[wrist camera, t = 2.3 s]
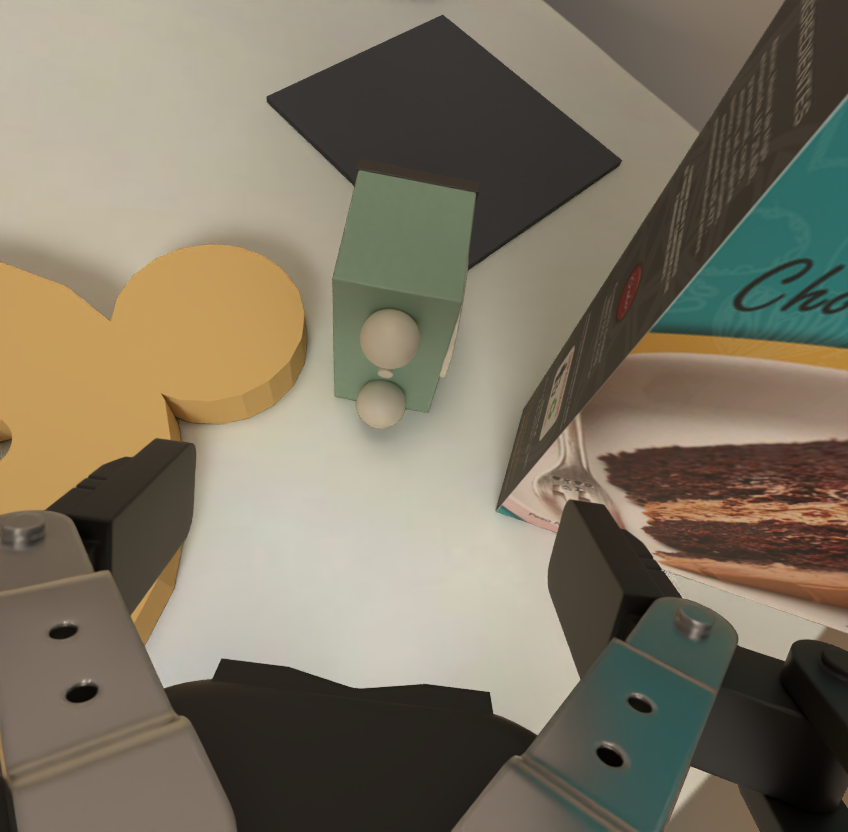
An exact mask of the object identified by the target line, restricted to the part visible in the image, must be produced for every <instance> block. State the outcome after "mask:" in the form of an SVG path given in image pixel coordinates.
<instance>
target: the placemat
mask: <svg viewBox="0 0 848 832" xmlns="http://www.w3.org/2000/svg"><path fill="white" fill-rule="evenodd" d="M267 102H268V103H269V104H270V105H271V106H272V107H273V108H274V109H275V110H276V111H277V112H278V113H279V114H280V115H281V116H283V117H284V118H285V119H286V120H287V121H288V122H289V123H290V124H291V125H292V126H293V127H294V128H295V129H296V130H297V131H298V132H299V133H300V134H301V135H302V136H303V137H304V138H306V139H307V140H308V141H309V142H310V143H311V144H312V145H313V146H314V147H315V148H316V149H317V150H318V151H319V152H320V153H321V154H322V155H323V156H324V157H325V158H326V159H327V160H329V161H330V162H331V163H332V164H333V165H334V166H335V167H336V168H337V169H338V170H339V171H340V172H341V173H342V174H343V175H344V176H345V177H346V178H347V179H348V180H349V181H350V182H351V183H353V184H354V185H355V183H356V168H357V164H358V160H359V159H363V160H368V161H373V162H378V163H383V164H388V165H394V166H399V167H404V168H409V169H414V170H419V171H424V172H429V173H434V174H439V175H445V176H450V177H455V178H460V179H465V180H470V181H475V182H479V183H480V188H479V194H478V198H477V201H476V205H475V209H474V216H473V224H472V232H471V240H470V248H469V256H468V269H470V268H471V267H473V266H474V265H475V264H477V263H478V262H480V261H481V260H483V259H484V258H486V257H487V256H489V255H490V254H491V253H493V252H494V251H496V250H497V249H499V248H500V247H502V246H503V245H504V244H506V243H507V242H509V241H510V240H512V239H513V238H515V237H516V236H517V235H519V234H520V233H522V232H523V231H525V230H526V229H528V228H529V227H530V226H532V225H533V224H535V223H536V222H538V221H539V220H541V219H542V218H543V217H545V216H546V215H548V214H549V213H551V212H552V211H554V210H555V209H556V208H558V207H559V206H561V205H562V204H564V203H565V202H567V201H568V200H569V199H571V198H572V197H574V196H575V195H577V194H578V193H580V192H581V191H582V190H584V189H585V188H587V187H588V186H590V185H591V184H593V183H594V182H595V181H597V180H598V179H600V178H601V177H603V176H604V175H606V174H607V173H608V172H610V171H611V170H613V169H614V168H616V167H617V166H619V165H620V163H621V161H622V160H621V159H620V158H618V157H617V156H616V155H615V154H613V153H612V152H611V151H610V150H609V149H607V148H606V147H605V146H604V145H602V144H601V143H600V142H599V141H597V140H596V139H595V138H594V137H593V136H591V135H590V134H589V133H588V132H586V131H585V130H584V129H583V128H582V127H580V126H579V125H578V124H577V123H575V122H574V121H573V120H572V119H570V118H569V117H568V116H567V115H566V114H564V113H563V112H562V111H561V110H559V109H558V108H557V107H556V106H554V105H553V104H552V103H551V102H550V101H548V100H547V99H546V98H545V97H543V96H542V95H541V94H540V93H538V92H537V91H536V90H535V89H534V88H532V87H531V86H530V85H529V84H527V83H526V82H525V81H524V80H522V79H521V78H520V77H519V76H518V75H516V74H515V73H514V72H513V71H511V70H510V69H509V68H508V67H506V66H505V65H504V64H503V63H502V62H500V61H499V60H498V59H497V58H495V57H494V56H493V55H492V54H490V53H489V52H488V51H487V50H486V49H484V48H483V47H482V46H481V45H479V44H478V43H477V42H476V41H474V40H473V39H472V38H471V37H470V36H468V35H467V34H466V33H465V32H463V31H462V30H461V29H460V28H458V27H457V26H456V25H455V24H454V23H452V22H451V21H450V20H449V19H447V18H446V17H445V16H444V15H441V16H439V17H437V18H435V19H432V20H430V21H428V22H426V23H424V24H422V25H420V26H417V27H415V28H413V29H411V30H409V31H407V32H405V33H402V34H400V35H398V36H396V37H394V38H392V39H389V40H387V41H385V42H383V43H381V44H379V45H377V46H374V47H372V48H370V49H368V50H366V51H364V52H362V53H359V54H357V55H355V56H353V57H351V58H349V59H346V60H344V61H342V62H340V63H338V64H336V65H334V66H331V67H329V68H327V69H325V70H323V71H321V72H319V73H316V74H314V75H312V76H310V77H308V78H306V79H303V80H301V81H299V82H297V83H295V84H293V85H291V86H288V87H286V88H284V89H282V90H280V91H278V92H276V93H273V94H271V95H269V96H267Z"/></svg>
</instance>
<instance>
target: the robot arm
mask: <svg viewBox="0 0 848 832" xmlns="http://www.w3.org/2000/svg"><path fill="white" fill-rule="evenodd" d="M195 467H196V449H195V446H194V444H193V443H188V442H181V441H174V440H167V439H161V438H155V439H154V440H153V441H151V442H150V443H149V444H148V445H147V446H146V447H144V448H143V449H142V450H141V451H140V452H138V453H137V454H136V455H135V456H134V457H127V456H125V457H122V458H119V459H117V460H114V461H111V462H108V463H106V464H103V465H102V466H100V467H99V468H98V469H96V470H95V471H94V472H93V473H91V474H90V475H89V476H88V478H85V479H84V480H82V481H81V482H80V483H79V484H77V485H76V488H72V489H71V490H70V491H68V492H67V493H66V494H65V495H63V496H62V497H61V498H59V499H58V500H57V501H56V502H54V503H53V504H52V505H50V506H49V507H48V508H47V509H45V510H25V511H17V512H11V513H6V514H2V515H0V832H665V830H666V827H667V825H668V822H669V820H670V817H671V815H672V812H673V809H674V807H675V804H676V802H677V799H678V797H679V794H680V792H681V789H682V787H683V784H684V781H685V779H686V776H687V774H688V771H689V769H690V766H691V767H694V768H697V769H699V770H702V771H705V772H707V773H710V774H712V775H715V776H718V777H720V778H723V779H725V780H728V781H731V782H733V783H736V784H738V788H739V790H740V793H741V795H742V797H743V799H744V801H745V803H746V805H747V807H748V809H749V810H750V813H751V815H752V817H753V819H754V821H755V823H756V825H757V827H758V828H759V831H760V832H848V808H847V807H846V805H845V804H844V802H843V801H842V797H843V795H844V793H845V791H846V789H847V787H848V651H845V650H843V649H841V648H839V647H836V646H834V645H831V644H828V643H824V642H820V641H816V640H798V641H796V642H794V643H793V644H792V646H791V649H790V651H789V654H788V656H787V658H786V661H782V660H779V659H776V658H773V657H770V656H767V655H764V654H761V653H758V652H755V651H751V650H748V649H746V648H743V647H740V646H738V645H737V644H738V634H737V632H736V630H735V629H734V628H733V626H732V625H731V624H730V623H729V622H728V621H727V620H726V619H725V618H723V617H722V616H721V615H719V614H718V613H716V612H715V611H713V610H711V609H709V608H707V607H705V606H703V605H701V604H699V603H696V602H693V601H690V600H687V599H683V598H682V597H681V595H680V594H679V593H678V591H677V590H676V588H675V587H674V586H673V584H672V583H671V581H670V580H669V578H668V577H667V576H666V574H665V573H664V571H661V567H660V566H659V564H658V563H657V561H656V560H654V559H653V556H652V554H651V553H650V551H649V550H648V549H647V547H646V546H645V544H644V543H643V542H642V541H640V540H639V539H638V538H636V537H635V536H634V535H632V534H631V533H630V532H628V531H627V530H626V529H620V527H619V526H618V524H617V523H616V521H615V520H614V518H613V517H612V515H611V514H610V512H609V511H608V509H607V508H606V506H605V505H604V504H599V503H592V502H585V501H579V500H572V499H570V500H568V501H567V502H566V504H565V506H564V509H563V512H562V516H561V520H560V524H559V528H558V531H557V535H556V539H555V543H554V547H553V551H552V555H551V559H550V563H549V568H548V588H549V593H550V595H551V598H552V601H553V604H554V607H555V609H556V612H557V615H558V618H559V621H560V623H561V626H562V629H563V632H564V634H565V637H566V640H567V643H568V646H569V648H570V651H571V654H572V657H573V660H574V662H575V665H576V668H577V671H578V674H579V676H580V679H581V680H580V681H579V683H578V684H577V685H576V687H575V688H574V689H573V690H572V692H571V693H570V694H569V696H568V697H567V698H566V700H565V701H564V702H563V704H562V705H561V706H560V707H559V709H558V710H557V711H556V713H555V714H554V715H553V717H552V718H551V719H550V720H549V722H548V723H547V724H546V726H545V727H544V728H543V730H542V731H541V732H540V733H539V735H538V736H537V735H536V734H534V733H533V732H531V731H530V730H528V729H526V728H524V727H522V726H521V725H519V724H517V723H515V722H513V721H510V720H508V719H506V718H503V717H501V716H498V715H495V714H493V709H492V703H491V696H490V692H485V691H477V690H469V689H461V688H453V687H445V686H437V685H429V684H419V685H406V686H392V687H378V688H364V689H358V688H352V687H348V686H345V685H342V684H339V683H336V682H333V681H330V680H327V679H324V678H321V677H318V676H315V675H312V674H309V673H306V672H303V671H300V670H296V669H293V668H290V667H285V666H277V665H269V664H261V663H253V662H245V661H237V660H229V659H221V661H220V663H219V665H218V668H217V670H216V672H215V674H214V677H213V679H207V680H199V681H193V682H187V683H182V684H178V685H174V686H170V687H167V688H163V686H162V684H161V682H160V679H159V677H158V675H157V673H156V671H155V668H154V666H153V664H152V662H151V660H150V657H149V655H148V653H147V651H146V649H145V646H144V644H143V642H142V640H141V638H140V635H139V633H138V631H137V629H136V627H135V624H134V622H133V620H132V618H131V615H132V613H133V612H134V610H135V609H136V608H137V606H138V605H139V603H140V602H141V601H142V599H143V598H144V597H145V595H146V594H147V592H148V591H149V590H150V588H151V587H152V585H153V584H154V583H155V581H156V580H157V578H158V577H159V576H160V574H161V573H162V571H163V570H164V569H165V567H166V566H167V565H168V563H169V562H170V560H171V559H172V558H173V556H174V555H175V553H176V552H177V551H178V549H179V548H180V546H181V545H182V544H183V542H184V541H185V539H186V537H187V535H188V532H189V529H190V526H191V522H192V516H193V504H194V486H195Z"/></svg>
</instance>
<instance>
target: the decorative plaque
mask: <svg viewBox="0 0 848 832" xmlns="http://www.w3.org/2000/svg"><path fill="white" fill-rule="evenodd" d="M306 347H307V334H306V323H305V313H304V309H303V306H302V302H301V298H300V294H299V291H298V289H297V288H296V286H295V285H294V284H293V282H292V281H291V279H290V278H289V277H288V275H287V274H286V272H285V271H284V270H283V269H281V268H280V267H278V266H277V265H276V264H274V263H273V262H272V261H270V260H269V259H267V258H266V257H265V256H263V255H260V254H257V253H255V252H252V251H249V250H246V249H244V248H241V247H237V246H227V245H216V244H206V245H199V246H193V247H186V248H181V249H178V250H176V251H173V252H171V253H168V254H166V255H164V256H161V257H159V258H156V259H154V260H153V261H152V262H150V263H149V264H148V265H146V266H145V267H144V268H143V269H141V270H140V271H139V272H137V273H136V274H135V275H133V276H132V278H131V279H130V280H129V282H128V283H127V285H126V286H125V287H124V289H123V290H122V292H121V293H120V294H119V296H118V297H117V300H116V304H115V307H114V311H113V315H112V318H111V321H109V320H108V319H107V318H106V317H104V316H103V315H102V314H101V313H99V312H98V311H97V310H95V309H94V308H93V307H92V306H90V305H89V304H88V303H87V302H85V301H84V300H83V299H82V298H80V297H79V296H78V295H77V294H75V293H74V292H73V291H72V290H70V289H69V288H68V287H67V286H64V285H62V284H59V283H56V282H53V281H51V280H48V279H45V278H43V277H40V276H37V275H34V274H32V273H29V272H26V271H24V270H21V269H18V268H15V267H13V266H10V265H7V264H5V263H2V262H0V442H1V441H5V440H10V439H12V443H11V446H10V449H9V451H8V453H7V454H6V455H5V457H4V458H3V459H2V460H1V461H0V515H2V514H6V513H11V512H17V511H25V510H45V509H47V508H48V507H49V506H50V505H52V504H53V503H54V502H56V501H57V500H58V499H59V498H61V497H62V496H63V495H65V494H66V493H67V492H68V491H70V490H71V489H72V488H76V485H77V484H79V483H80V482H81V481H82V480H84V479H85V478H88V476H89V475H90V474H91V473H93V472H94V471H95V470H96V469H98V468H99V467H100V466H102V465H103V464H106V463H108V462H111V461H114V460H117V459H119V458H122V457H125V456H127V457H134V456H135V455H136V454H137V453H138V452H140V451H141V450H142V449H143V448H144V447H146V446H147V445H148V444H149V443H150V442H151V441H153V440H154V439H155V438H161V439H167V440H174V441H181V436H180V430H179V423H178V421H177V420H176V418H175V417H177V418H180V419H183V420H185V421H188V422H193V423H208V424H223V423H228V422H233V421H238V420H242V419H247V418H250V417H252V416H254V415H256V414H258V413H260V412H261V411H263V410H265V409H267V408H269V407H271V406H273V405H274V404H275V403H277V402H278V401H279V400H280V399H281V398H282V397H283V396H284V395H285V394H286V393H287V392H288V391H289V390H290V389H291V388H292V387H293V386H294V384H295V382H296V380H297V378H298V376H299V374H300V372H301V370H302V368H303V366H304V364H305V355H306ZM181 549H182V545H181V546H180V548H179V549H178V551H177V552H176V553H175V555H174V556H173V558H172V559H171V560H170V562H169V563H168V565H167V566H166V567H165V569H164V570H163V571H162V573H161V574H160V576H159V577H158V578H157V580H156V581H155V583H154V584H153V585H152V587H151V588H150V590H149V591H148V592H147V594H146V595H145V597H144V598H143V599H142V601H141V602H140V603H139V605H138V606H137V608H136V609H135V610H134V612H133V613H132V615H131V618H132V620H133V622H134V624H135V627H136V629H137V631H138V633H139V635H140V638H141V640H142V642H143V644H144V646H145V644H146V642H147V640H148V638H149V636H150V634H151V632H152V631H153V629H154V627H155V625H156V623H157V621H158V619H159V617H160V615H161V613H162V611H163V609H164V607H165V606H166V604H167V602H168V600H169V598H170V596H171V594H172V592H173V590H174V587H175V581H176V576H177V571H178V565H179V560H180V554H181Z"/></svg>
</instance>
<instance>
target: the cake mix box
mask: <svg viewBox="0 0 848 832" xmlns="http://www.w3.org/2000/svg"><path fill="white" fill-rule="evenodd" d="M570 499H572V500H579V501H585V502H592V503H599V504H604V505H605V506H606V508H607V509H608V511H609V512H610V514H611V515H612V517H613V518H614V520H615V521H616V523H617V524H618V526H619V527H620V529H626V530H627V531H628V532H630V533H631V534H632V535H634V536H635V537H636V538H638V539H639V540H640V541H642V542H643V543H644V544H645V546H646V547H647V549H648V550H649V551H650V553H651V554H652V556H653V559H654V560H656V561H657V563H658V564H659V566H660V567H661V569H663V570H666V571H669V572H672V573H675V574H678V575H681V576H684V577H686V578H689V579H692V580H695V581H698V582H701V583H704V584H707V585H710V586H712V587H715V588H718V589H721V590H724V591H727V592H730V593H733V594H736V595H738V596H741V597H744V598H747V599H750V600H753V601H756V602H759V603H762V604H764V605H767V606H770V607H773V608H776V609H779V610H782V611H785V612H788V613H790V614H793V615H796V616H799V617H802V618H805V619H808V620H811V621H813V622H816V623H819V624H822V625H825V626H828V627H831V628H834V629H837V630H840V631H842V632H845V633H848V0H785V1H784V2H783V4H782V6H781V7H780V9H779V10H778V12H777V14H776V15H775V16H774V18H773V20H772V21H771V23H770V24H769V26H768V28H767V29H766V31H765V32H764V34H763V35H762V37H761V38H760V40H759V42H758V43H757V45H756V46H755V48H754V49H753V51H752V53H751V54H750V56H749V57H748V59H747V60H746V62H745V64H744V65H743V67H742V68H741V70H740V71H739V73H738V74H737V76H736V77H735V79H734V81H733V82H732V84H731V85H730V87H729V88H728V90H727V92H726V93H725V95H724V96H723V98H722V99H721V101H720V103H719V104H718V106H717V107H716V109H715V110H714V112H713V113H712V115H711V117H710V118H709V120H708V121H707V123H706V124H705V126H704V128H703V129H702V131H701V132H700V134H699V135H698V137H697V138H696V140H695V142H694V143H693V145H692V146H691V148H690V149H689V151H688V153H687V154H686V156H685V157H684V159H683V160H682V162H681V164H680V165H679V167H678V168H677V170H676V171H675V173H674V174H673V176H672V178H671V179H670V181H669V182H668V184H667V185H666V187H665V189H664V190H663V192H662V193H661V195H660V196H659V198H658V199H657V201H656V203H655V204H654V206H653V207H652V209H651V210H650V212H649V214H648V215H647V217H646V218H645V220H644V221H643V223H642V225H641V226H640V228H639V229H638V231H637V232H636V234H635V235H634V237H633V239H632V240H631V242H630V243H629V245H628V246H627V248H626V250H625V251H624V253H623V254H622V256H621V257H620V259H619V260H618V262H617V264H616V265H615V267H614V268H613V270H612V271H611V273H610V275H609V276H608V278H607V279H606V281H605V282H604V284H603V286H602V287H601V289H600V290H599V292H598V293H597V295H596V296H595V298H594V300H593V301H592V303H591V304H590V306H589V307H588V309H587V311H586V312H585V314H584V315H583V317H582V318H581V320H580V321H579V323H578V325H577V326H576V328H575V329H574V331H573V332H572V334H571V336H570V337H569V339H568V340H567V342H566V343H565V345H564V347H563V348H562V350H561V351H560V353H559V354H558V356H557V357H556V359H555V361H554V362H553V364H552V365H551V367H550V368H549V370H548V372H547V373H546V375H545V376H544V378H543V379H542V381H541V382H540V384H539V386H538V387H537V389H536V390H535V392H534V393H533V395H532V397H531V398H530V400H529V401H528V403H527V404H526V406H525V408H524V409H523V413H522V417H521V420H520V424H519V428H518V431H517V435H516V439H515V442H514V446H513V450H512V453H511V457H510V461H509V464H508V468H507V472H506V475H505V479H504V483H503V486H502V490H501V494H500V497H499V501H498V505H497V508H496V512H499V513H502V514H505V515H507V516H510V517H513V518H516V519H519V520H522V521H525V522H528V523H531V524H533V525H536V526H539V527H542V528H545V529H548V530H551V531H554V532H557V531H558V528H559V524H560V520H561V516H562V512H563V509H564V506H565V504H566V502H567V501H568V500H570Z"/></svg>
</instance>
